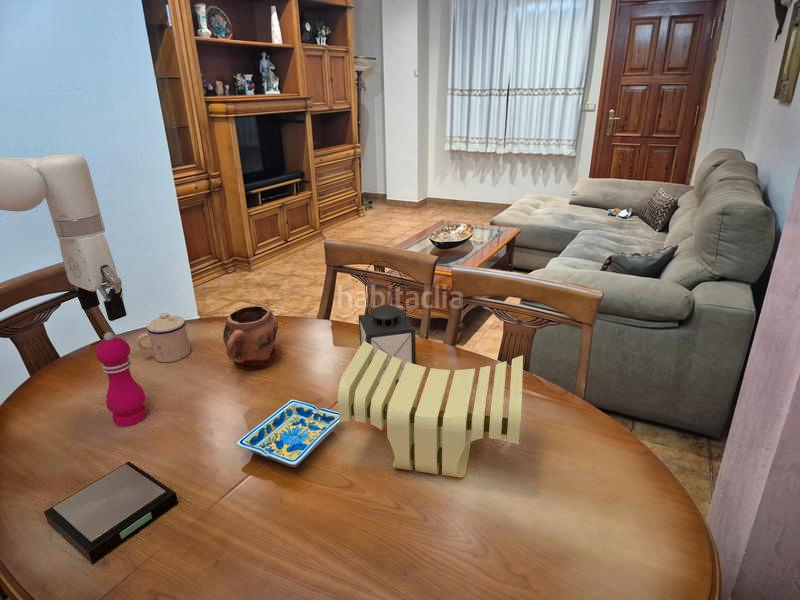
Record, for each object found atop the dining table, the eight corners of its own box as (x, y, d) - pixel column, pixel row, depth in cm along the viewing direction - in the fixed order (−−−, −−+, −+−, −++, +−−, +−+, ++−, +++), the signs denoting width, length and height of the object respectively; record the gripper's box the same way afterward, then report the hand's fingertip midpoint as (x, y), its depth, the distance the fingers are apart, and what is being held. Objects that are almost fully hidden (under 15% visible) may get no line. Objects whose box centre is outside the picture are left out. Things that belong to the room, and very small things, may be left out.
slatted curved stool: (343, 469, 92) (336, 384, 85) (368, 417, 106) (364, 340, 99) (514, 494, 85) (521, 405, 78) (516, 435, 99) (522, 355, 92)
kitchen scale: (92, 564, 74) (87, 549, 73) (47, 523, 82) (42, 508, 80) (178, 503, 85) (175, 489, 84) (131, 471, 92) (128, 458, 91)
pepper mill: (142, 403, 112) (121, 321, 104) (155, 417, 107) (133, 332, 100) (106, 418, 108) (82, 332, 100) (118, 433, 103) (93, 344, 95)
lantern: (360, 363, 126) (353, 255, 115) (404, 357, 129) (402, 251, 118) (369, 387, 116) (362, 272, 105) (416, 380, 119) (414, 266, 108)
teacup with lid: (189, 343, 138) (181, 304, 134) (193, 358, 131) (185, 316, 126) (140, 354, 133) (130, 313, 129) (142, 369, 126) (131, 327, 121)
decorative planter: (263, 388, 117) (255, 333, 112) (212, 385, 118) (202, 332, 113) (290, 346, 135) (284, 298, 130) (246, 345, 137) (238, 297, 131)
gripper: (34, 225, 93) (62, 310, 100) (82, 237, 84) (108, 330, 91) (77, 216, 99) (100, 297, 106) (126, 227, 90) (148, 315, 97)
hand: (104, 312), depth 98 cm, fingers open, 9 cm apart
